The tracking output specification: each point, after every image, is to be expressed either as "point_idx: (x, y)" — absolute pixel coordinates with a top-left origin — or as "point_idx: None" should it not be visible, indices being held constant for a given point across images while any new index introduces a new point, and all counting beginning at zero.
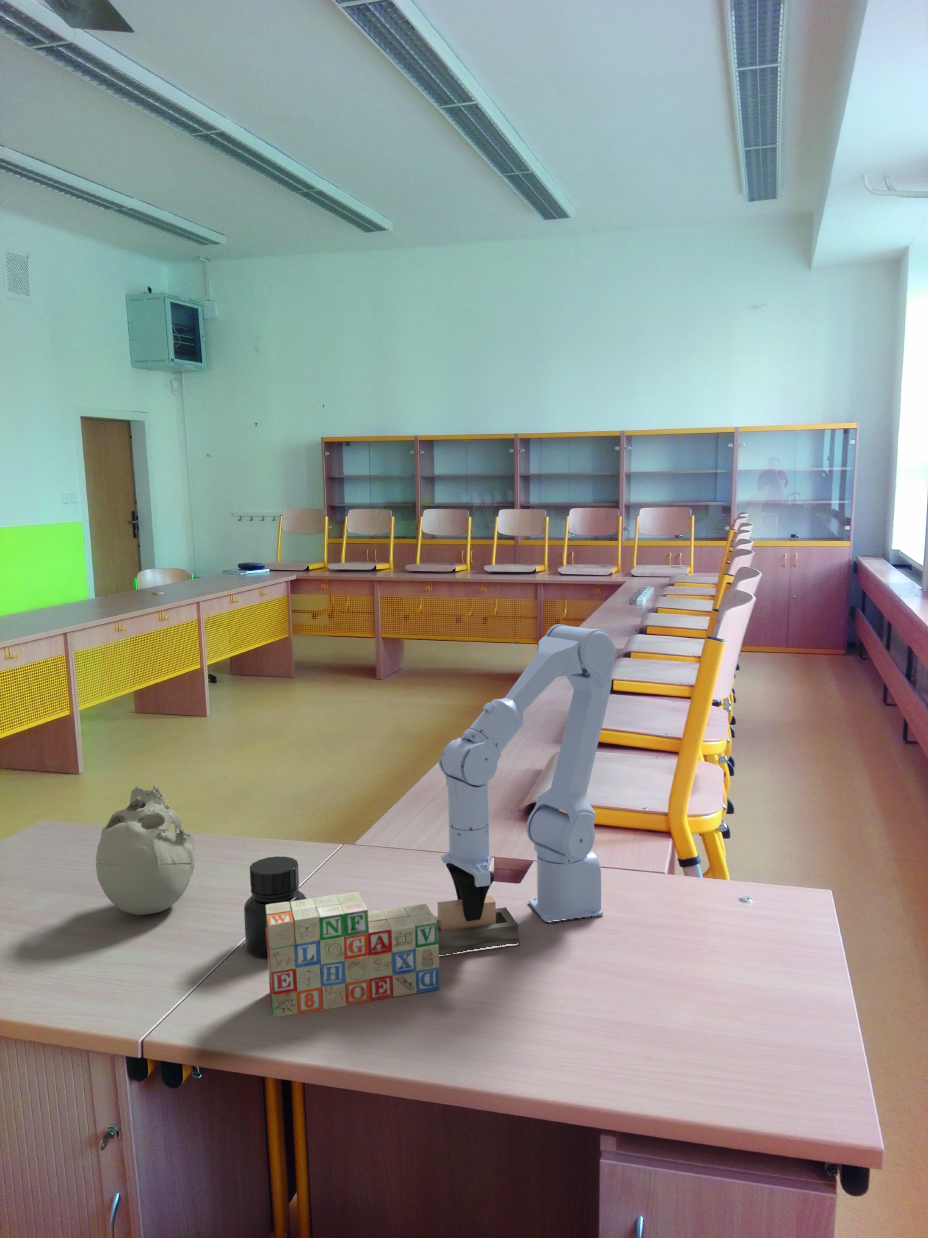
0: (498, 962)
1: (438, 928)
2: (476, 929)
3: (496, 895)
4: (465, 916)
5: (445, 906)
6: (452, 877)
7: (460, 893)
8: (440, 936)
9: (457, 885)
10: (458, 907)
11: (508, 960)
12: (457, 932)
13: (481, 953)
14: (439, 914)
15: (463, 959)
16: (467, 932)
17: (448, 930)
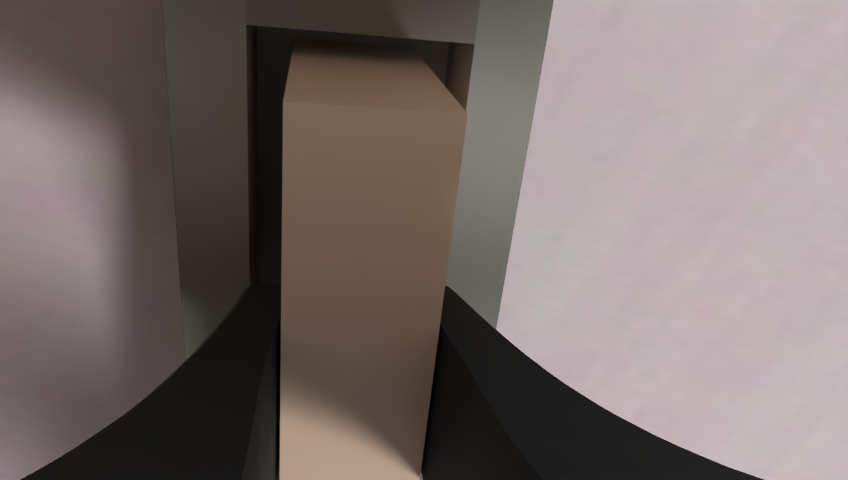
0: (30, 311)
1: (406, 57)
2: (199, 312)
3: (770, 475)
4: (243, 297)
5: (326, 168)
6: (579, 452)
7: (234, 412)
8: (163, 4)
9: (486, 426)
10: (284, 287)
11: (46, 365)
12: (184, 167)
13: (172, 253)
14: (368, 84)
15: (114, 127)
16: (180, 240)
17: (246, 107)
